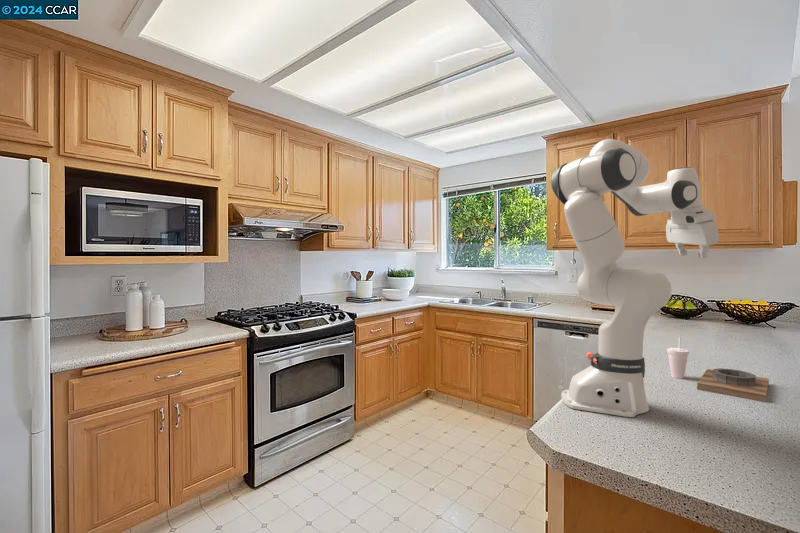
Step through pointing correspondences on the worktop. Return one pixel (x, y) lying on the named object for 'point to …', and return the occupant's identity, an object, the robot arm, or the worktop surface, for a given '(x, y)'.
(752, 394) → the stand
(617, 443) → the worktop surface
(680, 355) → the smoothie
